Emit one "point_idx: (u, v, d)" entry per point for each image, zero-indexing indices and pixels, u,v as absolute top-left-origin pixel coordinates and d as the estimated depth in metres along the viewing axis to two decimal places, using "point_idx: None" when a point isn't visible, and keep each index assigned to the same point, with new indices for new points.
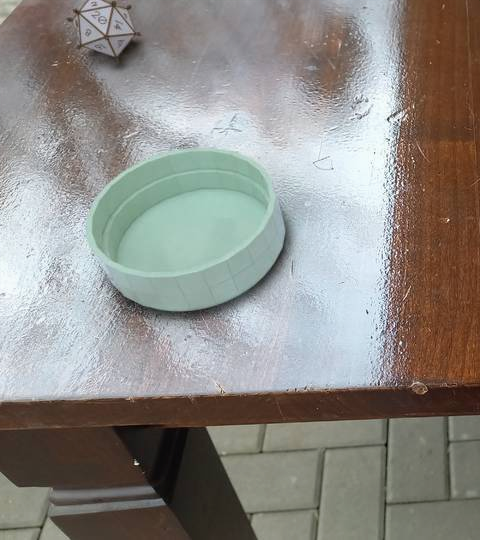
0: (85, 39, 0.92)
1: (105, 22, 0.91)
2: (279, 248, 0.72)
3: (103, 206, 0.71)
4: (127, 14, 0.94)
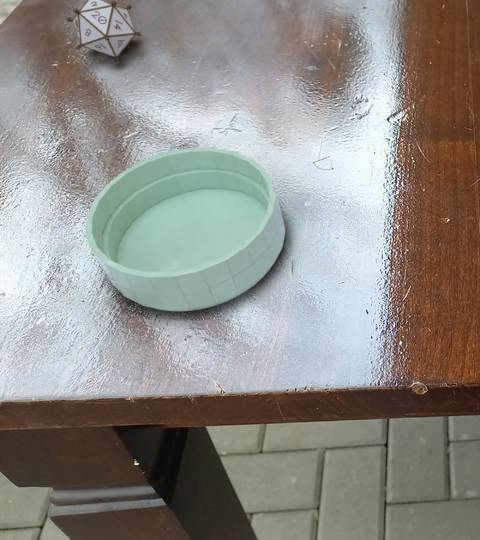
0: (85, 39, 0.92)
1: (105, 22, 0.91)
2: (279, 248, 0.72)
3: (103, 206, 0.71)
4: (127, 14, 0.94)
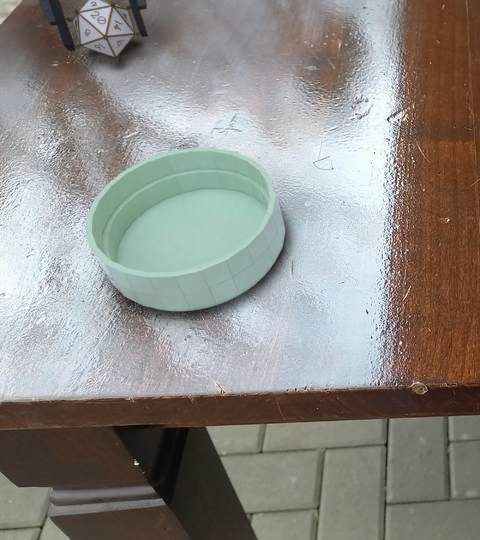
0: (84, 39, 0.92)
1: (104, 23, 0.91)
2: (279, 248, 0.72)
3: (103, 206, 0.71)
4: (127, 14, 0.94)
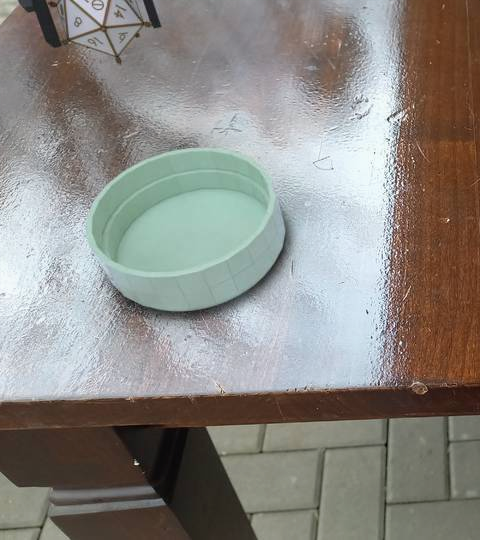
0: (73, 31, 0.66)
1: (101, 8, 0.65)
2: (279, 248, 0.72)
3: (103, 206, 0.71)
4: None
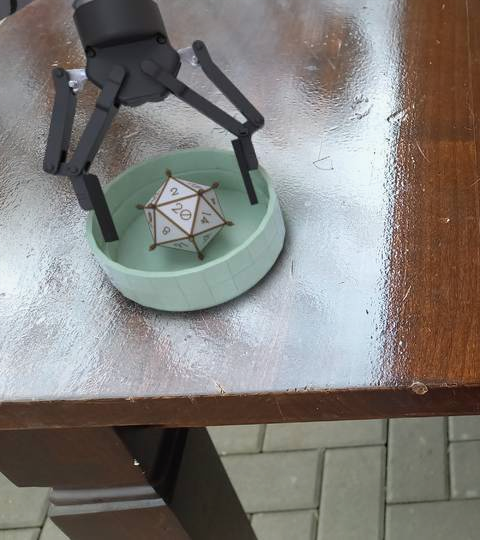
0: (161, 238, 0.68)
1: (189, 218, 0.68)
2: (279, 248, 0.72)
3: None
4: (214, 197, 0.71)
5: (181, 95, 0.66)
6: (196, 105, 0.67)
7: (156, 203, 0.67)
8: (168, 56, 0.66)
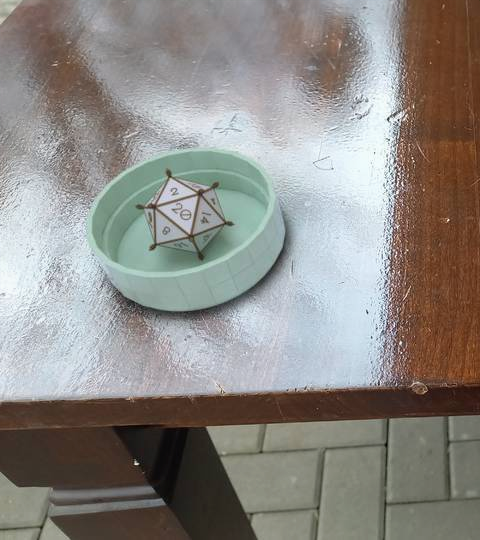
0: (161, 238, 0.68)
1: (189, 218, 0.68)
2: (279, 248, 0.72)
3: (103, 206, 0.71)
4: (214, 197, 0.71)
5: None
6: None
7: (156, 203, 0.67)
8: None
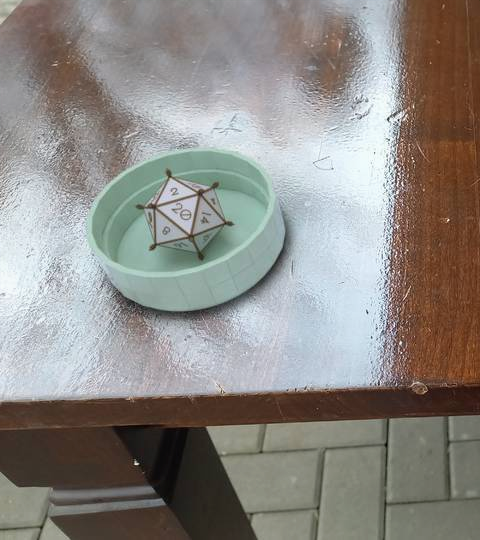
0: (161, 238, 0.68)
1: (189, 218, 0.68)
2: (279, 248, 0.72)
3: (103, 206, 0.71)
4: (214, 197, 0.71)
5: None
6: None
7: (156, 203, 0.67)
8: None
